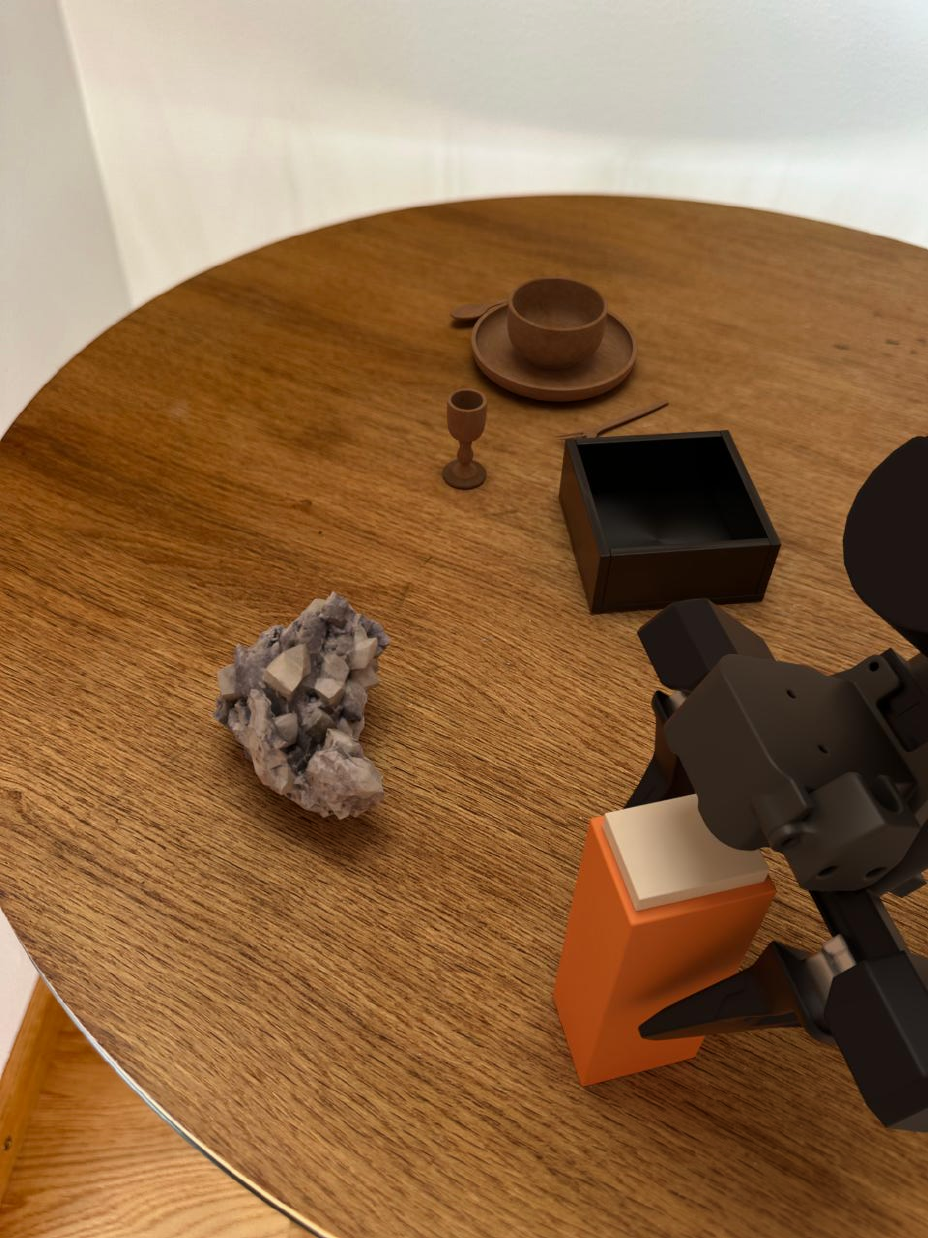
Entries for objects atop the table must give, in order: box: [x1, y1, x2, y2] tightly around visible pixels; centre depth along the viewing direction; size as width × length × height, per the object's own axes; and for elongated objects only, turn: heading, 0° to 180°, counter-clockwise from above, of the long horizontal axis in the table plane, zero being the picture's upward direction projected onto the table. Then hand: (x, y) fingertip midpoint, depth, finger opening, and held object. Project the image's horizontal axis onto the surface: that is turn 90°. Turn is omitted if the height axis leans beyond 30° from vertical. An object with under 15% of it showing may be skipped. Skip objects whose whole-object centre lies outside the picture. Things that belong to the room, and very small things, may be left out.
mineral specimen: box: [210, 590, 393, 820], centre depth 52 cm, size 12×9×10 cm
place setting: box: [442, 275, 670, 490], centre depth 74 cm, size 18×20×6 cm
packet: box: [552, 794, 778, 1087], centre depth 40 cm, size 5×4×15 cm
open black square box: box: [558, 429, 782, 615], centre depth 64 cm, size 10×10×5 cm
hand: (615, 953), depth 40 cm, fingers open, 6 cm apart
